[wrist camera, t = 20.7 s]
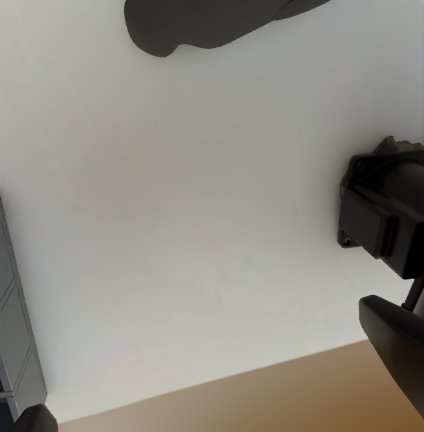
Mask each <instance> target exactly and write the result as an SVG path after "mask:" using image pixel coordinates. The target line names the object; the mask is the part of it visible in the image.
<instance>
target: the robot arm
mask: <svg viewBox="0 0 424 432" xmlns="http://www.w3.org/2000/svg"><path fill="white" fill-rule="evenodd" d="M359 161H361V163H360V164H361V166H359V167H357V163H358V162H359ZM339 226H340V227H339V234H338V244H339V245H340V246H341V247H342V248H353V247H360V246H362V247H363V248H364V249H365V250H366V251H367V252H368V253H369V254H371V255H372V256H373V257H374V258H375V259H381V260H382V261H383V262H385V263H386V264H387V265H388V266H389V267H390V268H391V269H392V270H393V271H395V272H396V273H397V274H398V275H399V276H400V277H401V278H402V279H405V280H407V279H414V282H413V284H412V286H411V289H410V291H409V293H408V296H407V298H406V300H405V303H402V305H401V307H400V306H398V305H395V304H393V303H391V302H389V301H387V300H385V299H383V298H380V297H378V296H376V295H369V296H366V297H363V298H361V299H360V300H359V320H360V324H361V326H362V328H363V330H364V331H365V333H366V335H367V336H368V338H369V340H370V341H371V343H372V344H373V346H374V348H375V350H376V351H377V353H378V355H379V356H380V358H381V360H382V361H383V363H384V365H385V366H386V368H387V369H388V371H389V373H390V374H391V376H392V377H393V379H394V380H395V382H396V383H397V384H398V386H399V387H400V388H401V390H402V391H403V392H404V394H405V395H406V396H407V398H408V399H409V400H410V402H411V403H412V405H413V406H414V407H415V408H416V410H417V411H418V412H419V414H420V415H421V416H422V418H423V419H424V150H410V151H405V152H398V153H392V154H375V153H373V154H362V155H356V156H354V157H353V158H352V159H351V160H350V163H349V169H348V188H346V189H345V191H344V193H343V199H342V206H341V212H340V219H339ZM346 239H347V241H346V242H344V241H345V240H346ZM8 432H58V424H57V421H56V419H55V418H54V416H53V415H52V414H51V413H50V411H49V410H48V409H47V407H46V406H45V405H44V404H42V403H40V404H36V405H33V406H30V407H28V408H26V409H25V410H24V411H23V412H22V413H21V415H20V416H19V418H18V419H17V420H16V422H15V423H14V424H13V426H12V427H11V429H10V430H9V431H8Z"/></svg>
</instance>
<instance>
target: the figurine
mask: <svg viewBox="0 0 424 432" xmlns="http://www.w3.org/2000/svg"><path fill="white" fill-rule="evenodd" d="M328 1H330V0H126V2H125V5H124V15H125V21H126V26H127V29H128V32H129V35H130V37H131V39H132V41H133V42H134V43H135V44H136V46H137V47H139V48H140V49H141V50H143V51H145V52H147V53H149V54H151V55H154V56H157V57H167V56H168V55H170V54H171V53H173V52H174V50H175V49H176V48H177V47H178V46H179V45H181V44H188V45H192V46H196V47H200V48H205V49H211V48H216V47H220V46H223V45H225V44H228V43H230V42H232V41H234V40H236V39H238V38H240V37H242V36H244V35H246V34H248V33H250V32H252V31H254V30H256V29H258V28H260V27H262V26H264V25H265V24H267V23H269V22H271V21H273V20H281V19H285V18H289V17H292V16H295V15H298V14H301V13H303V12H306V11H309V10H311V9H313V8H315V7H318V6H320V5H322V4H325V3H326V2H328Z"/></svg>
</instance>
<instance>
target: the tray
mask: <svg viewBox="0 0 424 432" xmlns="http://www.w3.org/2000/svg"><path fill="white" fill-rule="evenodd" d="M46 397H47V392H46V387H45V383H44V379H43V375H42V371H41V366H40V362H39V358H38V354H37V350H36V345H35V341H34V337H33V333H32V329H31V324H30V320H29V316H28V312H27V308H26V304H25V299H24V295H23V291H22V287H21V283H20V278H19V274H18V270H17V266H16V262H15V257H14V253H13V249H12V245H11V241H10V236H9V232H8V228H7V224H6V220H5V216H4V211H3V207H2V203H1V199H0V432H8V431H9V430H10V429H11V427H12V426H13V424H14V423H15V422H16V420H17V419H18V418H19V416H20V415H21V413H22V412H23V411H24V410H25V409H26V408H28V407H30V406H33V405H36V404H40V403H42V404H44V405H45V401H46Z"/></svg>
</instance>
